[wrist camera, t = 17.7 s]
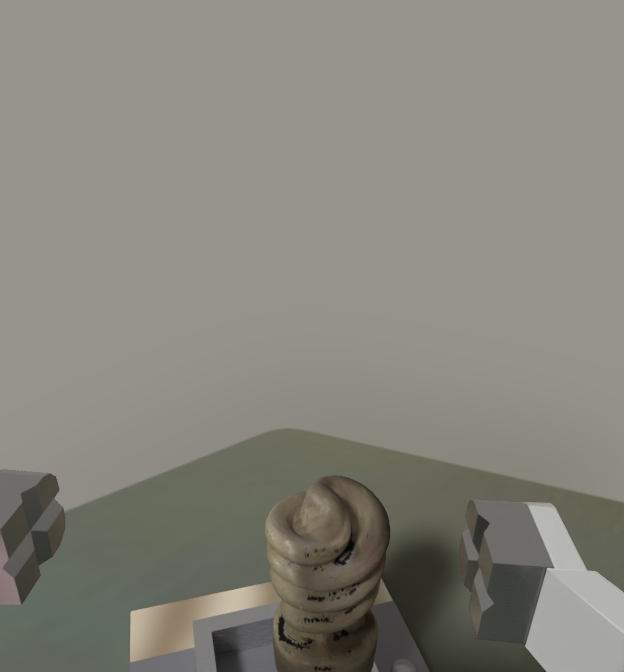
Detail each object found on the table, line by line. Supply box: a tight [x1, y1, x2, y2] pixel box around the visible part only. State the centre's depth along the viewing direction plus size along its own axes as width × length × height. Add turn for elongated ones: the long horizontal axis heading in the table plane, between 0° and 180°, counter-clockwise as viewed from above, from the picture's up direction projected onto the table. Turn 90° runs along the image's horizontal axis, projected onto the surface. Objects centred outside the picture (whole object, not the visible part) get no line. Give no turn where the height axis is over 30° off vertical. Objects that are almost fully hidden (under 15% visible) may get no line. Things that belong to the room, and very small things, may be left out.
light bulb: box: [265, 476, 390, 672], centre depth 26 cm, size 6×6×15 cm
